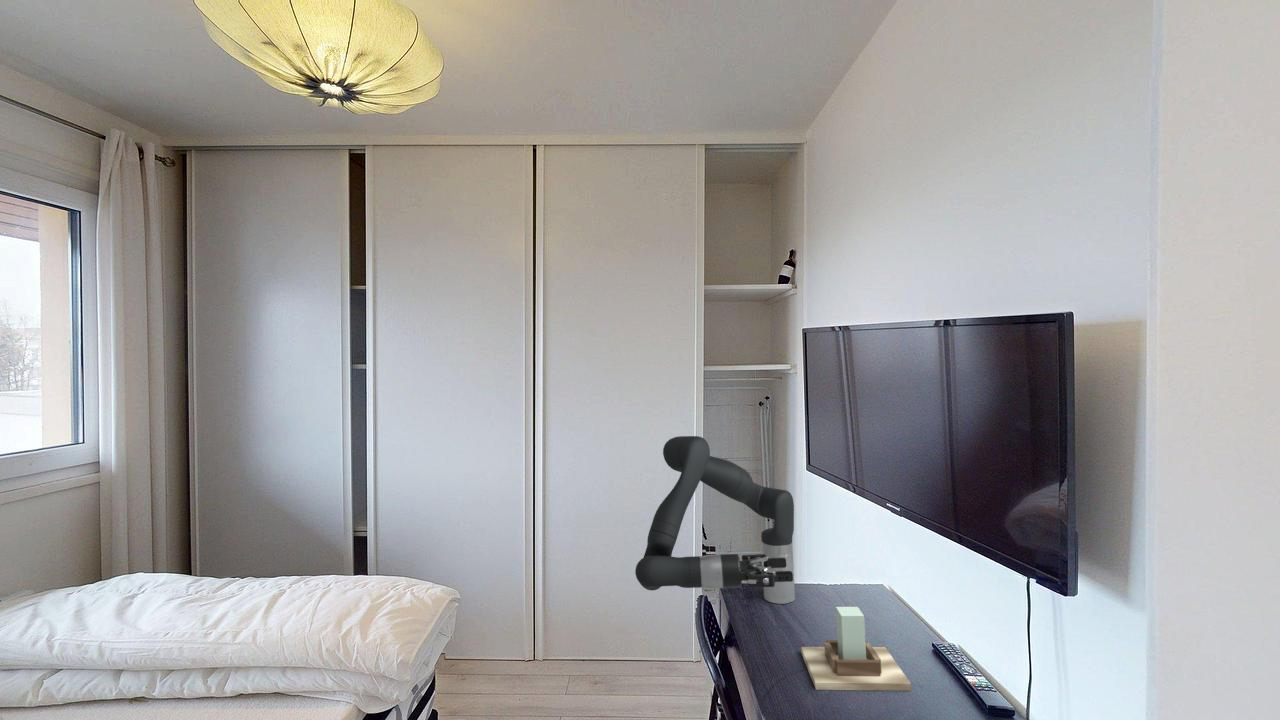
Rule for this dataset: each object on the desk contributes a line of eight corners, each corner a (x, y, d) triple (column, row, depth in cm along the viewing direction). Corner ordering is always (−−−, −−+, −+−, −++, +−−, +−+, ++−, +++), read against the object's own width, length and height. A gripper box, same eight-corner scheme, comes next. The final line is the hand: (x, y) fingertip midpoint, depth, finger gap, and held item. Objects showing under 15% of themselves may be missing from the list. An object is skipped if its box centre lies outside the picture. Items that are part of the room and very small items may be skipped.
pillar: (838, 658, 132) (835, 606, 132) (860, 658, 132) (857, 606, 132) (844, 669, 127) (841, 616, 127) (866, 669, 127) (864, 616, 127)
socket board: (801, 653, 138) (800, 634, 138) (885, 653, 136) (884, 634, 136) (815, 689, 122) (814, 668, 122) (911, 690, 120) (910, 669, 121)
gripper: (720, 566, 127) (794, 564, 125) (717, 545, 141) (783, 543, 140) (722, 599, 127) (796, 597, 125) (719, 575, 141) (784, 573, 140)
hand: (789, 569), depth 133 cm, fingers open, 8 cm apart
